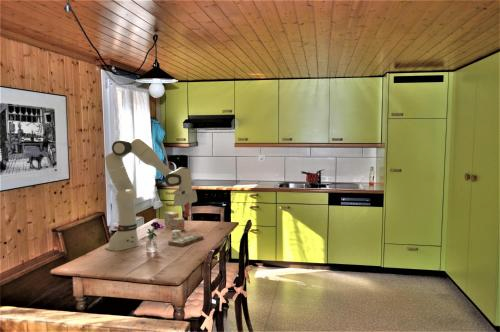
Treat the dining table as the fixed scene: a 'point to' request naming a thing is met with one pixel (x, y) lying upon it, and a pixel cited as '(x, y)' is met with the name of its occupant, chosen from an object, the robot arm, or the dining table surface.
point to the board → (185, 240)
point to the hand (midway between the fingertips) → (186, 210)
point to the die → (176, 234)
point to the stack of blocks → (174, 221)
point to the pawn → (186, 210)
